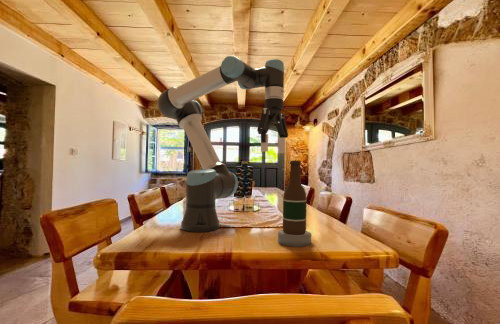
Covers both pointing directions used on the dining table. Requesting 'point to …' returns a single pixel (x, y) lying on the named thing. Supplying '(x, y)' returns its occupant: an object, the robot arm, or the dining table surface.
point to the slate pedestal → (294, 239)
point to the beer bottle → (294, 203)
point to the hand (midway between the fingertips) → (273, 152)
